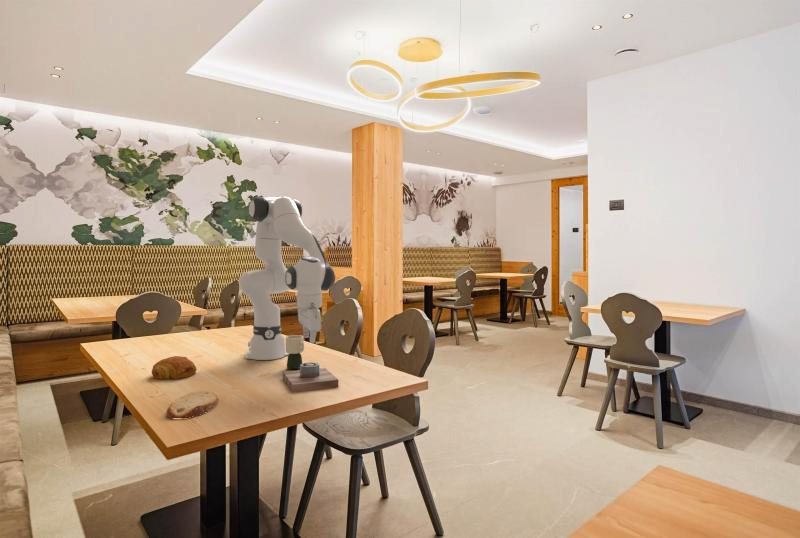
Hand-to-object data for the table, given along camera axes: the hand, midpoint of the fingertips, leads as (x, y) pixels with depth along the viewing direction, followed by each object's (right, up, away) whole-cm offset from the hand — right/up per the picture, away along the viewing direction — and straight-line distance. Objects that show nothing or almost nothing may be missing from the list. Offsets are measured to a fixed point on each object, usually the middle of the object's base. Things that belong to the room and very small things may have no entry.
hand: (309, 339), depth 171 cm
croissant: (-53, -15, +9) cm, 56 cm away
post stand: (0, -16, +1) cm, 16 cm away
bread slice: (-30, -17, -26) cm, 44 cm away
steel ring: (0, -13, 0) cm, 13 cm away
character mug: (-10, -15, +20) cm, 27 cm away
